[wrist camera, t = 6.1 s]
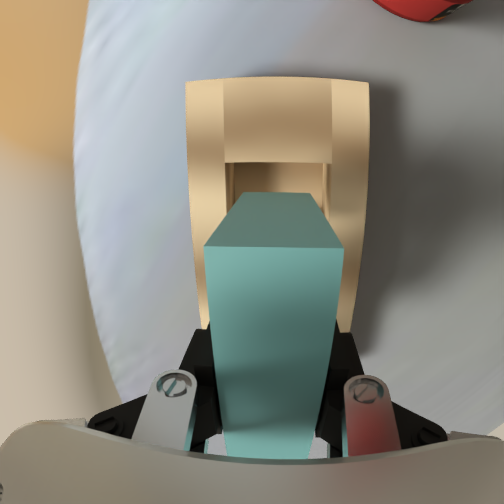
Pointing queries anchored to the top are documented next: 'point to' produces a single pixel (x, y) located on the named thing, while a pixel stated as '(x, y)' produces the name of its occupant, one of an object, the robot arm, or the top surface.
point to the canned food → (422, 8)
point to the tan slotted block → (280, 158)
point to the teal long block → (272, 320)
